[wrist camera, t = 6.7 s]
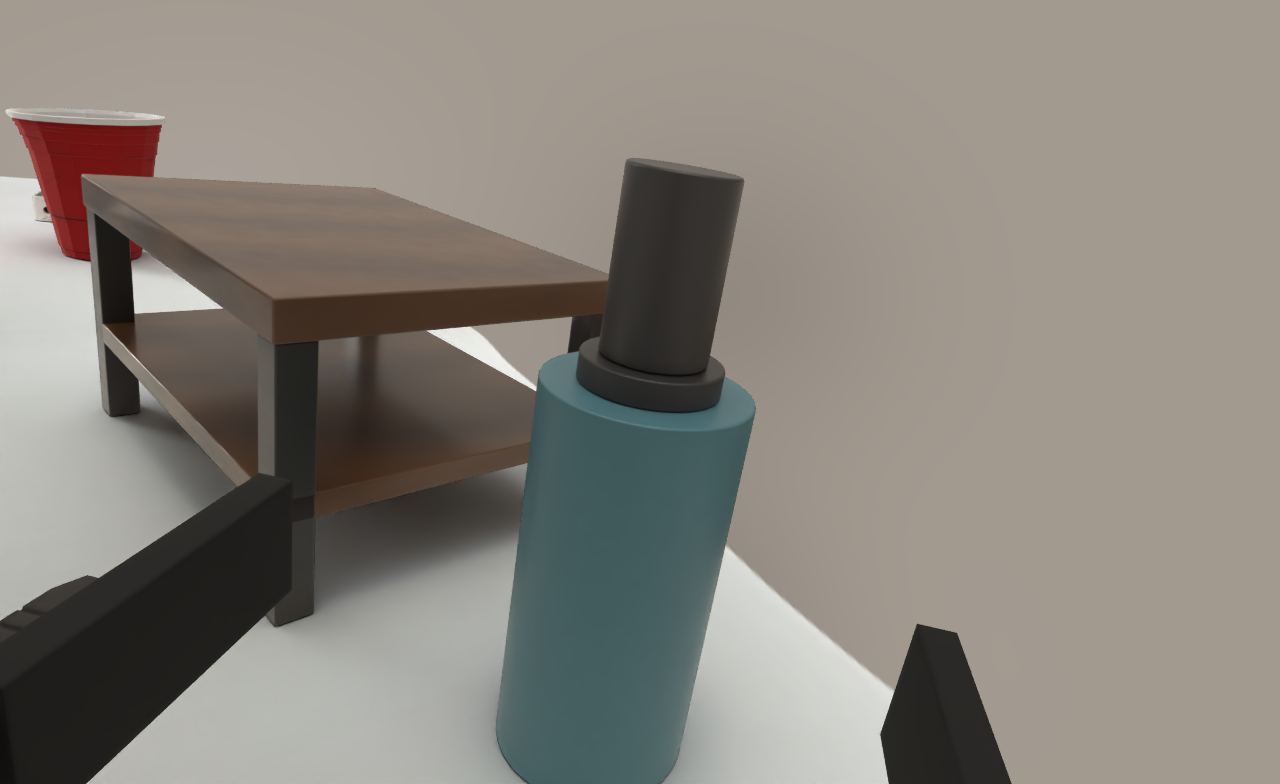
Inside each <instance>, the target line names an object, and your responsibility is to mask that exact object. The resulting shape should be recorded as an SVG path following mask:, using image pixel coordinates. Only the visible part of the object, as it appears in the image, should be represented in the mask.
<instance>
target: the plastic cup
mask: <svg viewBox="0 0 1280 784" xmlns="http://www.w3.org/2000/svg"><path fill="white" fill-rule="evenodd" d="M5 112H6V114H7V115H8V116H10V117H12V119H13V121H14V122H15V124H16V125H17V126H18V129H19V132H20V134H21V135H22V136H23V139H24V142H25V144H26V147H27V148H28V149H29V153H30V156H31V159H32V162H33V165H34V169H35V172H36V175H37V178H38V181H39V185H40V188H41V191H42V194H43V197H44V201H45V204H46V207H47V210H48V213H50V215H51V219H52V222H53V226H54V229H55V233H56V236H57V240H58V243H59V245H60V246H61V249H62V252H63V253H64V254H65V255H66V256H70V257H73V258H78V259H85V260H91V258H90V246H89V234H88V221H87V209H86V206H84V204H83V195H82V183H81V174H96V175H116V176H137V177H153V175H154V166H155V157H156V155H157V145H158V142H159V133H160V131H161V127H162V125H163V124H164V123H165V118H166V117H163V116H158V115H151V114H142V113H131V112H119V111H104V110H85V109H57V108H52V109H51V108H22V109H21V108H20V109H8V110H5ZM142 249H143V248H141V247H140V246H139V245H137V244H136V243H135V242H133V241H132V240H130V252H131V259H135V258H138V257H140V256H141V254H142Z"/></svg>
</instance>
